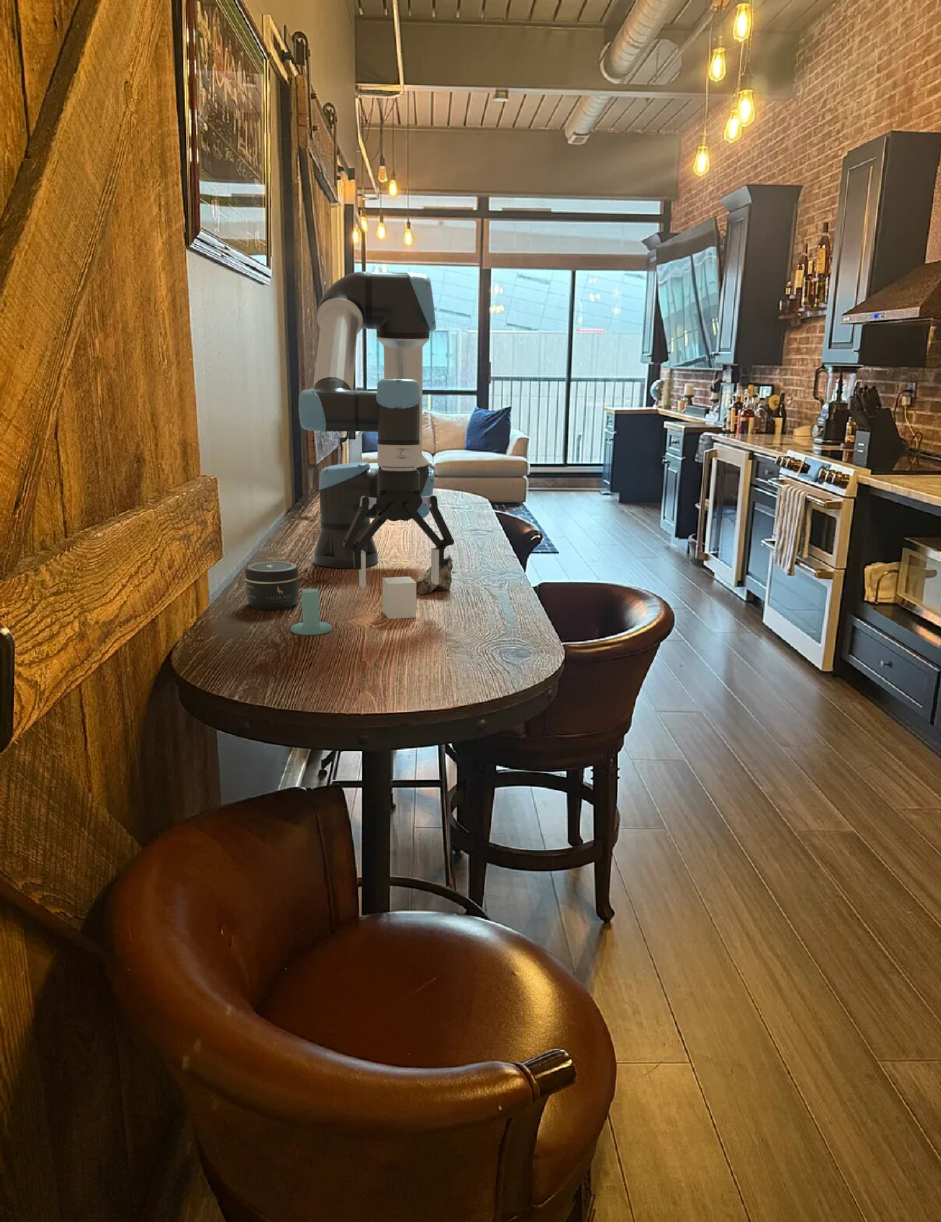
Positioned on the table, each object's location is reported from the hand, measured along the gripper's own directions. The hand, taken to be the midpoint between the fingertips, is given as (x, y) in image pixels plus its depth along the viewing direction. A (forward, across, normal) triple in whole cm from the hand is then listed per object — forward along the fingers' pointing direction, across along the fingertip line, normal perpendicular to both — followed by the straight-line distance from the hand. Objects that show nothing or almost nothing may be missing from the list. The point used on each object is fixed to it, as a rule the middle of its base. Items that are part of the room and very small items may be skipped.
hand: (399, 585), depth 158 cm
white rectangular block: (+6, 0, 0) cm, 6 cm away
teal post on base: (+6, -17, -6) cm, 19 cm away
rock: (+6, +11, +17) cm, 21 cm away
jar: (+6, -22, +14) cm, 26 cm away
